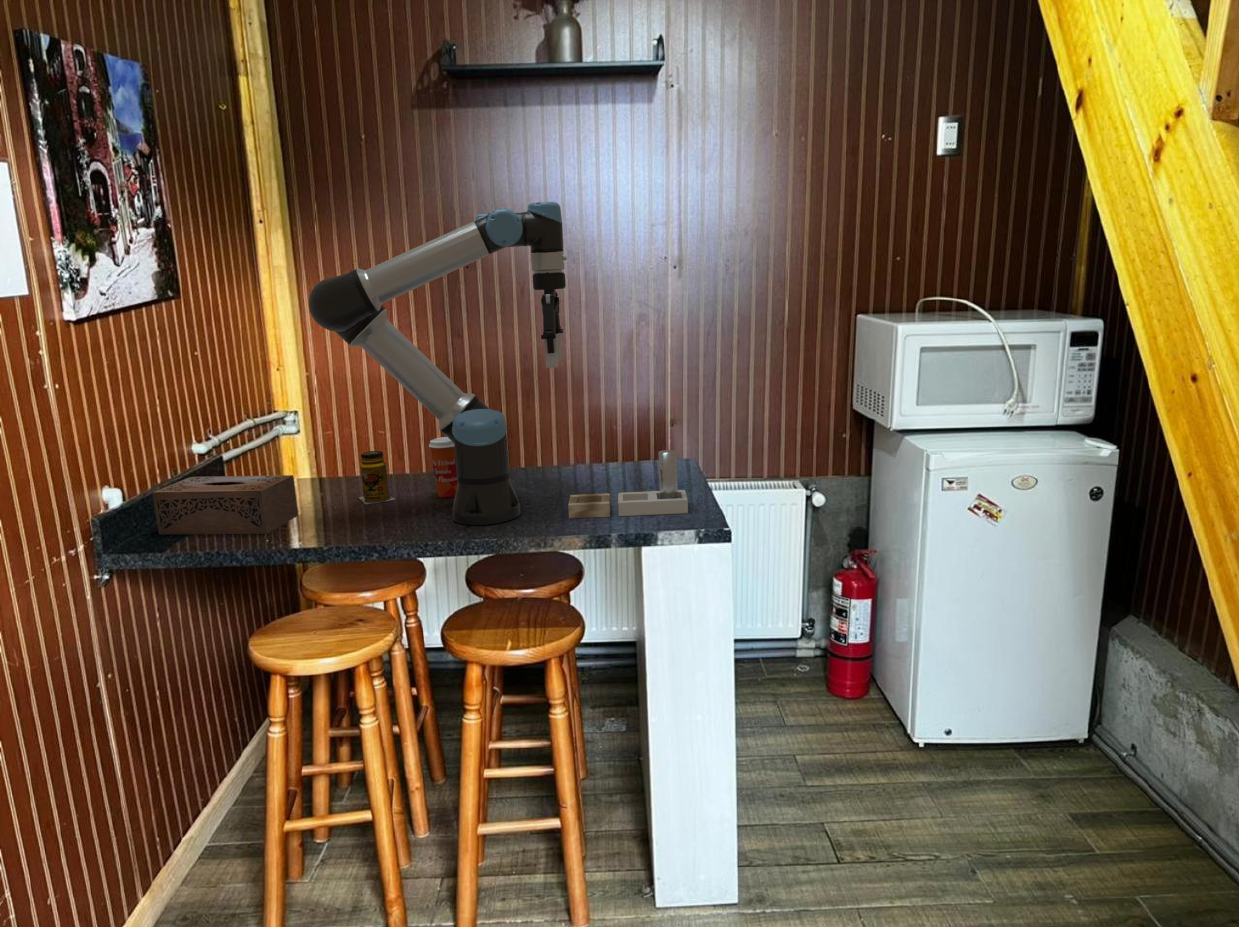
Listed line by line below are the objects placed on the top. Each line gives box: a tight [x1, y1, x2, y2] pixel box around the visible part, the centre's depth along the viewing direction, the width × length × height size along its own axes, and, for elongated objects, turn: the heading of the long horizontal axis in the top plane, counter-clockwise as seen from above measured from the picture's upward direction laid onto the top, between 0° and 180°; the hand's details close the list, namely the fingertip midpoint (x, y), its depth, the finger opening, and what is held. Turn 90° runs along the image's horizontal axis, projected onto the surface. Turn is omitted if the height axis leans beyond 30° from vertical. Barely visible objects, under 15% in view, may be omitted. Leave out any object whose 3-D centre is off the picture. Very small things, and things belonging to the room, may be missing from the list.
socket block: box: [567, 492, 611, 519], centre depth 203 cm, size 9×9×3 cm
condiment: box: [358, 450, 396, 505], centre depth 223 cm, size 7×8×12 cm
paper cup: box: [428, 436, 458, 498], centre depth 223 cm, size 8×8×14 cm
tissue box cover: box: [151, 474, 299, 535], centre depth 206 cm, size 26×14×10 cm, turn 82°
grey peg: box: [657, 449, 679, 499], centre depth 202 cm, size 4×4×13 cm
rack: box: [617, 489, 689, 517], centre depth 203 cm, size 15×9×3 cm, turn 90°
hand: (554, 364), depth 212 cm, fingers open, 13 cm apart
